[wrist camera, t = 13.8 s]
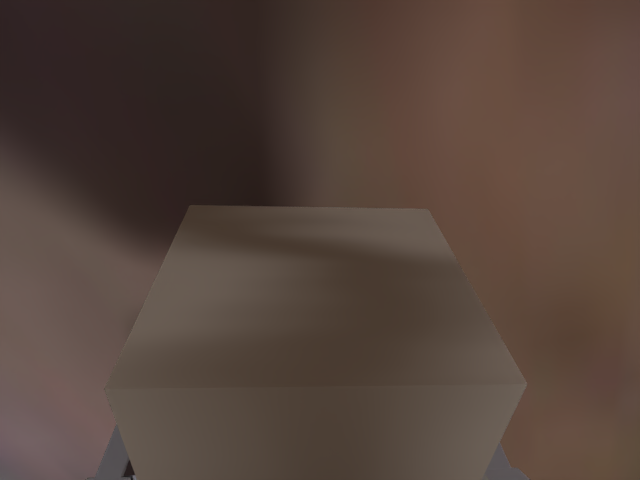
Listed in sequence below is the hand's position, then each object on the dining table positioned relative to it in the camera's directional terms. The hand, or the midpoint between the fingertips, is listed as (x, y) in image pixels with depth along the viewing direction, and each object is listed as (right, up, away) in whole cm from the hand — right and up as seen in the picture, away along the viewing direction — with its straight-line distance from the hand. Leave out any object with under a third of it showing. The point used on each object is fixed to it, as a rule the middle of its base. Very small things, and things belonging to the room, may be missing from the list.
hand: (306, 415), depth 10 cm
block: (0, +2, +1) cm, 2 cm away
